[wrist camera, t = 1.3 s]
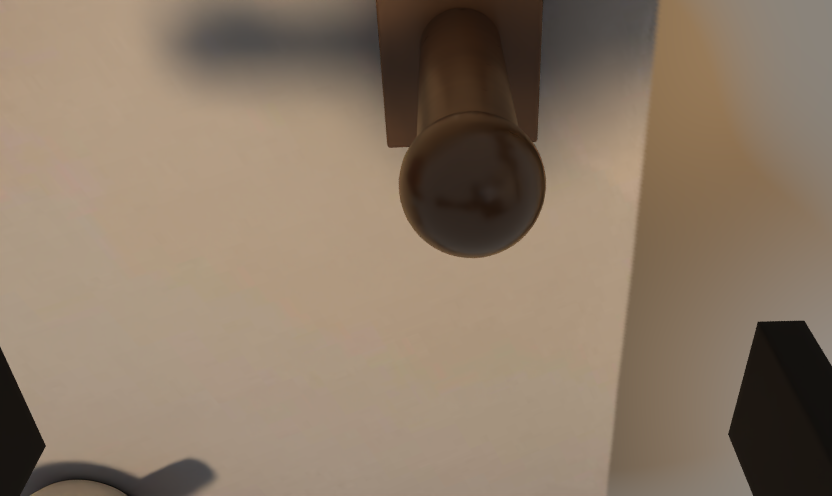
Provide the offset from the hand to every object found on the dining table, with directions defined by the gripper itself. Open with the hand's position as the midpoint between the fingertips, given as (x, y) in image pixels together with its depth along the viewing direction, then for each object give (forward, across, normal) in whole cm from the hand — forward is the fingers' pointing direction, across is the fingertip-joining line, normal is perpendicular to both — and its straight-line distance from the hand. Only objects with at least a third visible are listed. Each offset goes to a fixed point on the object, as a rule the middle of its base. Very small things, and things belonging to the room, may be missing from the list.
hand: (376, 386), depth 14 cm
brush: (+20, +2, 0) cm, 20 cm away
